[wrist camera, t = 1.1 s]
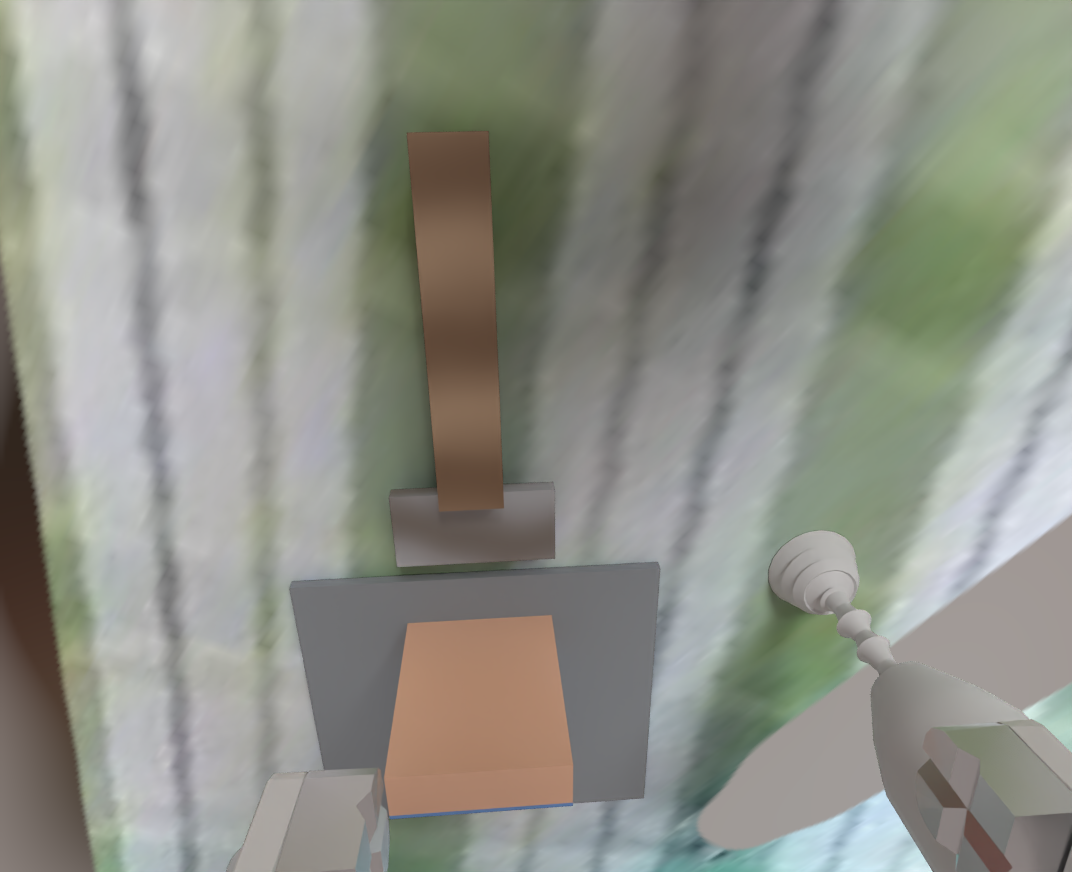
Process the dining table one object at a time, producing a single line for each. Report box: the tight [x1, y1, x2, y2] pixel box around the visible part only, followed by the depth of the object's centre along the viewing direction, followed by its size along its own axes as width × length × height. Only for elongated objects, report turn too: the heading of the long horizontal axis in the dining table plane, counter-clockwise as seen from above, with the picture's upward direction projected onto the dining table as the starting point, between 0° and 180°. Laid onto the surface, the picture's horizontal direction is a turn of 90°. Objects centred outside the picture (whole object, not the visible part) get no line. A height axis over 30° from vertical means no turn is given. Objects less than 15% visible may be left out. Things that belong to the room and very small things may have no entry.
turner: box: [389, 131, 555, 567], centre depth 31 cm, size 20×8×4 cm, turn 1°
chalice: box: [769, 530, 1029, 872], centre depth 31 cm, size 7×7×18 cm
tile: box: [384, 615, 573, 819], centre depth 34 cm, size 2×8×10 cm, turn 91°
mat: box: [289, 562, 660, 817], centre depth 41 cm, size 18×20×1 cm
